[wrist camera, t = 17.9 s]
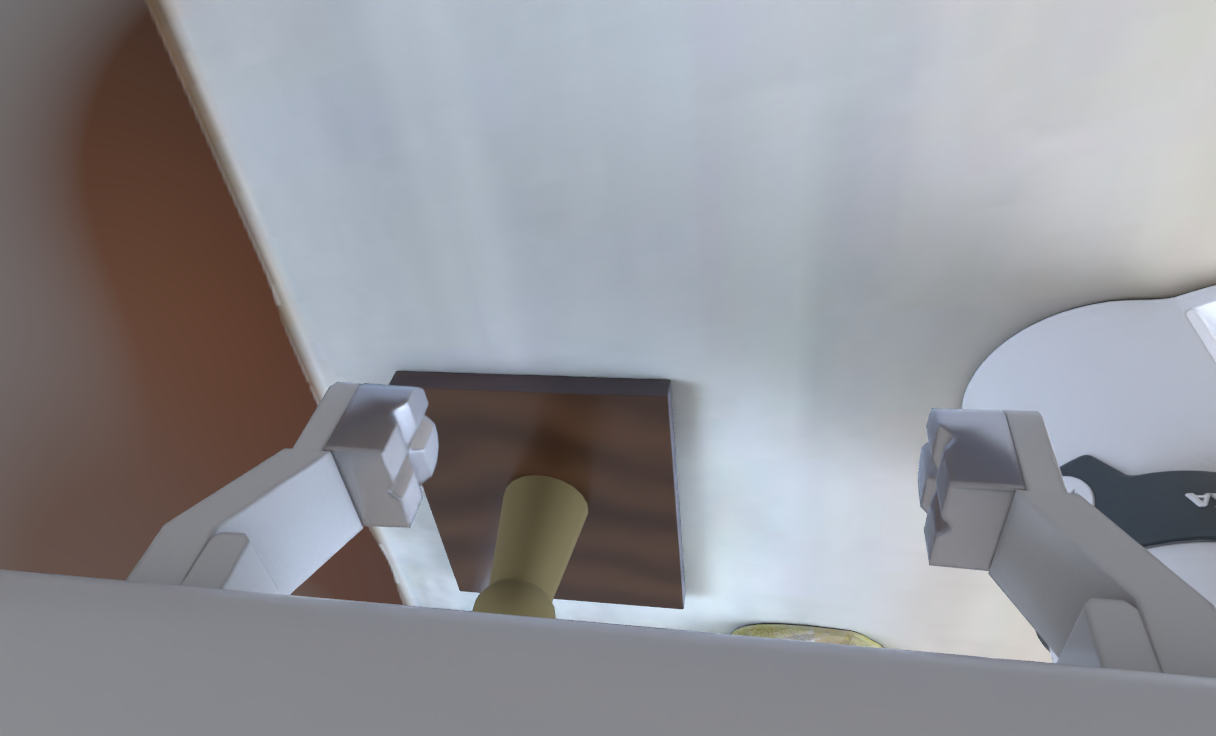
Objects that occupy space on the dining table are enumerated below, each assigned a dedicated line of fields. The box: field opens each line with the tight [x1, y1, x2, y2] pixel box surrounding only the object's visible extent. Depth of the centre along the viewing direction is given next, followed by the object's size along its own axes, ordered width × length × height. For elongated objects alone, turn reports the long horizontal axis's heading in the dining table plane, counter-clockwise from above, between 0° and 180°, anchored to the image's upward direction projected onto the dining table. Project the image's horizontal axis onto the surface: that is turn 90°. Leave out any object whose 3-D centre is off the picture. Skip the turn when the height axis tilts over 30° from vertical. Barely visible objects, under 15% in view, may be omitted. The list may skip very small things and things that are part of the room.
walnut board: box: [389, 371, 685, 609], centre depth 61 cm, size 22×18×2 cm
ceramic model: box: [731, 624, 883, 648], centre depth 67 cm, size 14×11×10 cm
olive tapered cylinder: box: [472, 475, 588, 619], centre depth 56 cm, size 6×6×11 cm
